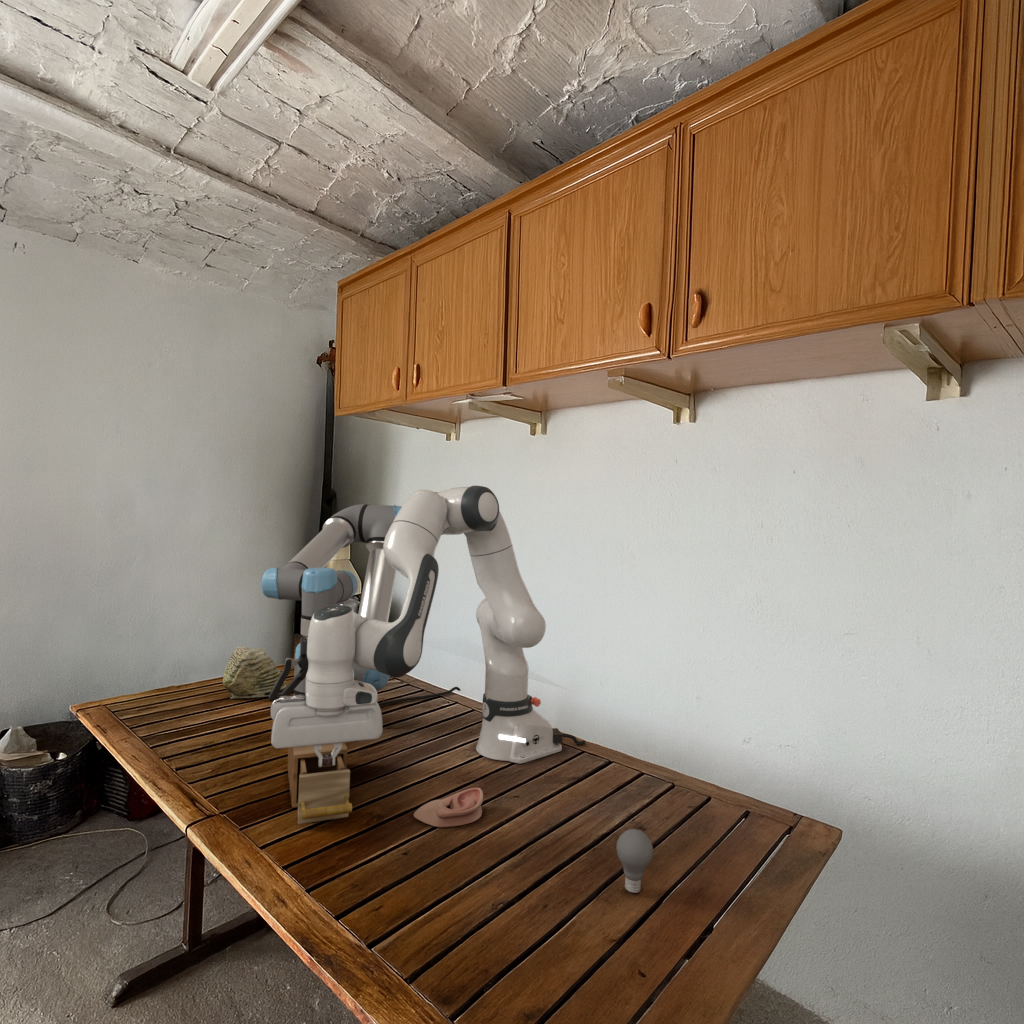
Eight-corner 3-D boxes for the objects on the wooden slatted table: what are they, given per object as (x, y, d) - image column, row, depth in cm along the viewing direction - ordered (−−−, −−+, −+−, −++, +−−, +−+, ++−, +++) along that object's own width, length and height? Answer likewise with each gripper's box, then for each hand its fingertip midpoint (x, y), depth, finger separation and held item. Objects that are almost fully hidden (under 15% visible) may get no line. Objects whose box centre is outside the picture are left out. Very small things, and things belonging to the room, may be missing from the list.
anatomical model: (408, 802, 124) (427, 778, 135) (407, 822, 124) (427, 796, 136) (473, 812, 122) (488, 786, 133) (473, 832, 122) (487, 805, 133)
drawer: (352, 831, 119) (354, 783, 119) (299, 839, 116) (301, 790, 115) (337, 776, 141) (338, 737, 141) (292, 782, 138) (294, 741, 138)
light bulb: (610, 879, 108) (613, 822, 108) (644, 879, 109) (647, 822, 109) (619, 902, 102) (622, 840, 102) (655, 901, 103) (658, 840, 103)
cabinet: (345, 800, 133) (347, 749, 132) (292, 807, 129) (293, 755, 128) (334, 762, 151) (336, 717, 151) (287, 768, 147) (289, 721, 147)
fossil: (218, 695, 195) (220, 647, 195) (278, 685, 208) (279, 640, 207) (228, 703, 189) (230, 653, 188) (289, 692, 201) (290, 645, 201)
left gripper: (259, 642, 137) (256, 739, 138) (375, 637, 146) (372, 727, 147) (259, 634, 144) (256, 726, 144) (370, 629, 153) (367, 716, 154)
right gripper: (271, 702, 113) (268, 779, 113) (386, 693, 121) (383, 765, 121) (270, 691, 119) (267, 764, 119) (380, 684, 126) (377, 753, 127)
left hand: (315, 727), depth 146 cm, fingers open, 13 cm apart
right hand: (326, 765), depth 120 cm, fingers closed
